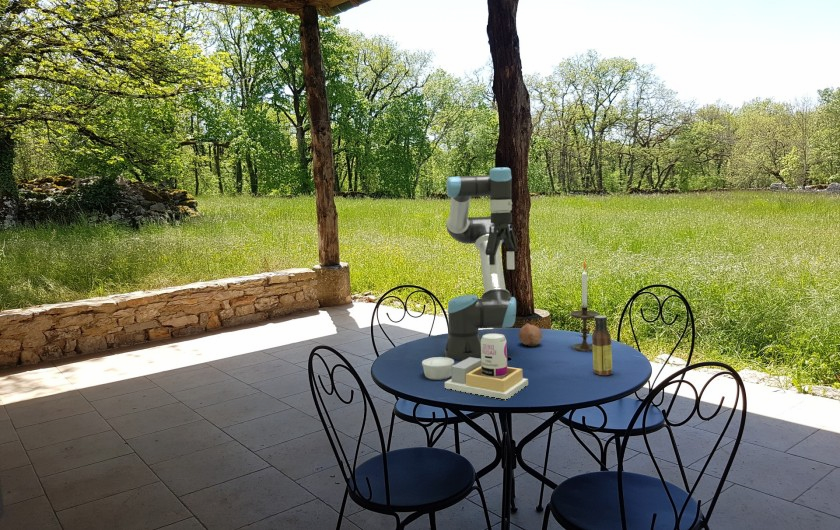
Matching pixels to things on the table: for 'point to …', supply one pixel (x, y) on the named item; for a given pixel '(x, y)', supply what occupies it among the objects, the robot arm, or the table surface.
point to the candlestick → (584, 316)
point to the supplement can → (494, 355)
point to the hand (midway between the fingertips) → (502, 271)
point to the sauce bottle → (601, 347)
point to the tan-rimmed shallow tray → (484, 380)
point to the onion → (530, 335)
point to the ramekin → (437, 367)
